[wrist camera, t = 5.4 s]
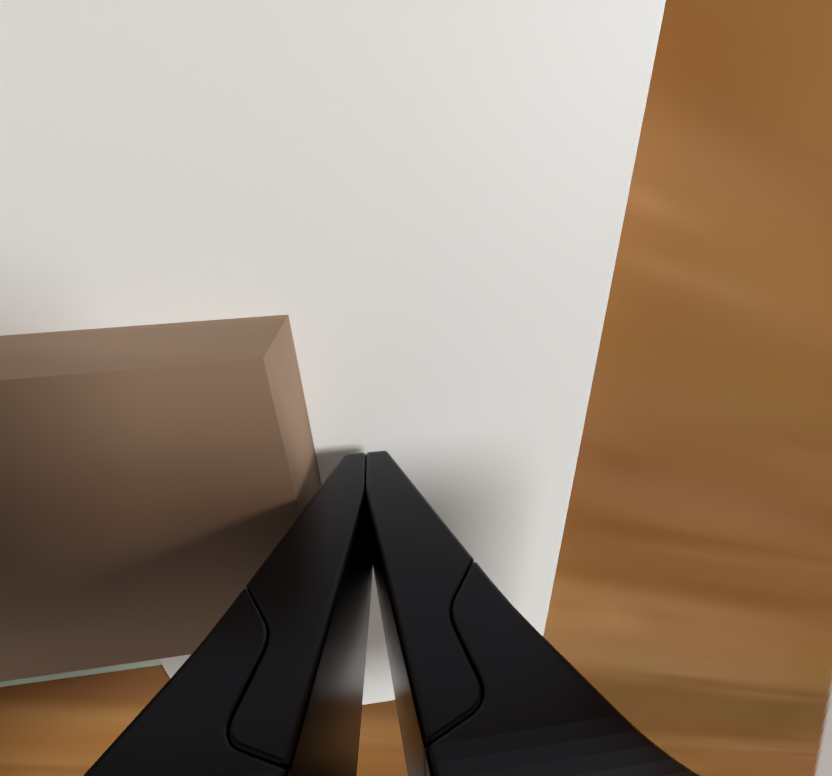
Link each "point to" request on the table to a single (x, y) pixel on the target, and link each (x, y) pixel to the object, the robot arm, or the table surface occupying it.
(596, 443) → the table surface
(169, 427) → the walnut tile
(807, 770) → the table surface
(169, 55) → the plate
